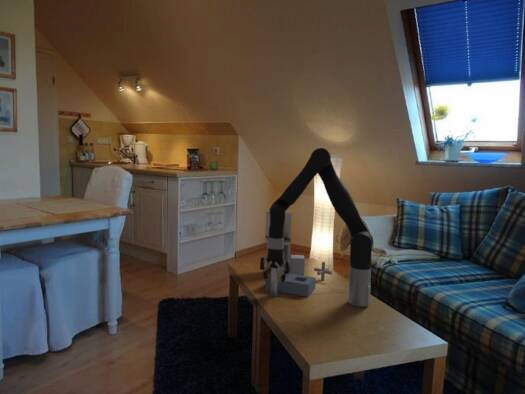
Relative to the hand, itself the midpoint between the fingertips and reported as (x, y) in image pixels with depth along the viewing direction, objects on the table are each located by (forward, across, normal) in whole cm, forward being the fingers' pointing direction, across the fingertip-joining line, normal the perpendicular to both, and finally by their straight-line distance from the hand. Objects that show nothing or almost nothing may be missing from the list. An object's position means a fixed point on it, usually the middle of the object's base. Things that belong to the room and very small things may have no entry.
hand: (274, 280), depth 189 cm
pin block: (+8, -4, -12) cm, 15 cm away
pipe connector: (+8, -15, -33) cm, 37 cm away
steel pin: (+8, 0, 0) cm, 8 cm away
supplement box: (+8, -2, -28) cm, 29 cm away
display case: (+8, +11, -32) cm, 35 cm away
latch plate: (+1, +2, -12) cm, 12 cm away
